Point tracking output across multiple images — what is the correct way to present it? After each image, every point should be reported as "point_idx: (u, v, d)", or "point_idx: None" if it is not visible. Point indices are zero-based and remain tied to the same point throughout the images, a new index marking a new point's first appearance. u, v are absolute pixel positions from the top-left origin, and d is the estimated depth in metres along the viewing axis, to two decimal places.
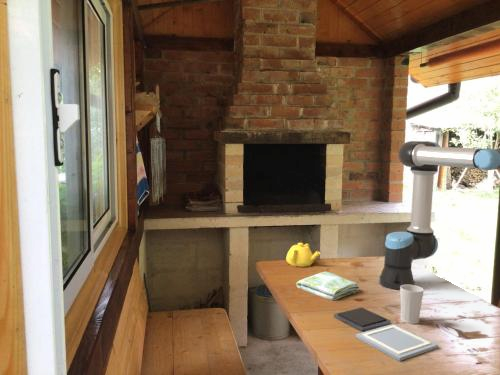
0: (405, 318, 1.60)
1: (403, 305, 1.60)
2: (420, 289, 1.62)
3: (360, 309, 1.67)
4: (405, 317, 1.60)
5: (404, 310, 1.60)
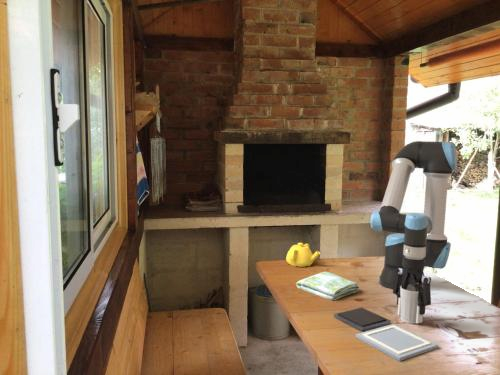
0: (405, 318, 1.60)
1: (403, 305, 1.60)
2: None
3: (360, 309, 1.67)
4: (405, 317, 1.60)
5: (404, 310, 1.60)
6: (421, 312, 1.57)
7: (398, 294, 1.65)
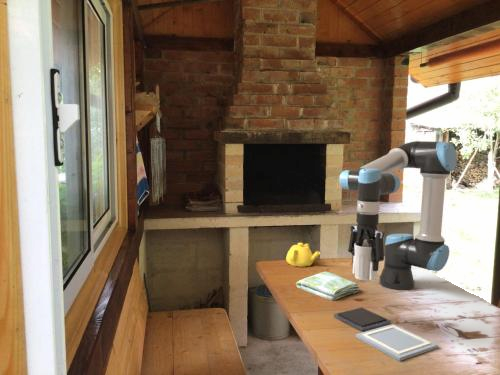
0: (359, 275, 1.57)
1: (357, 262, 1.57)
2: None
3: (360, 309, 1.67)
4: (359, 274, 1.57)
5: (358, 267, 1.57)
6: (374, 268, 1.54)
7: (353, 252, 1.61)
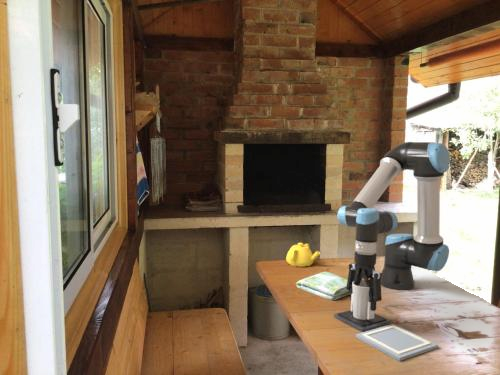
0: (357, 314, 1.58)
1: (355, 301, 1.59)
2: None
3: None
4: (357, 313, 1.58)
5: (356, 306, 1.58)
6: (372, 308, 1.55)
7: (351, 290, 1.63)
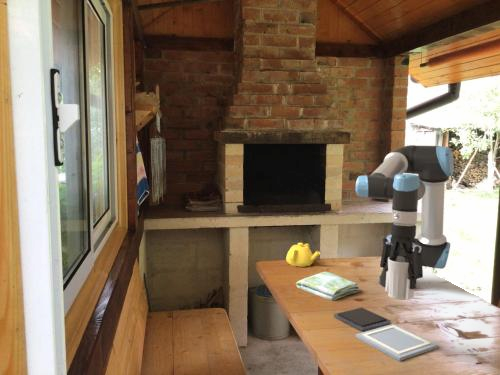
0: (393, 294, 1.40)
1: (391, 279, 1.40)
2: None
3: (360, 309, 1.67)
4: (393, 292, 1.40)
5: (392, 284, 1.40)
6: (412, 286, 1.37)
7: (386, 267, 1.45)
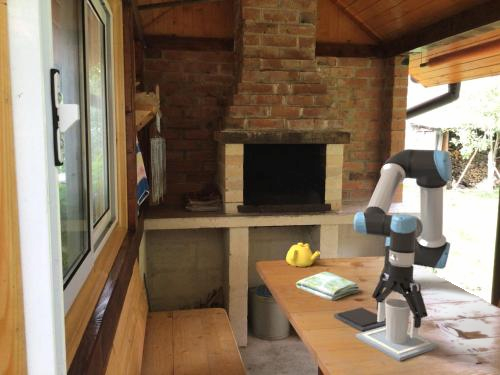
0: (391, 337, 1.42)
1: (388, 323, 1.42)
2: None
3: (360, 309, 1.67)
4: (391, 336, 1.42)
5: (389, 328, 1.42)
6: (416, 325, 1.36)
7: (378, 299, 1.48)
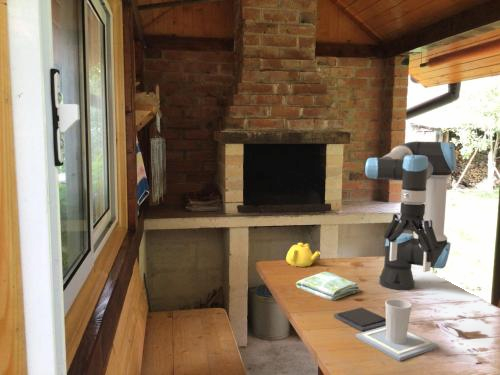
0: (391, 337, 1.42)
1: (388, 323, 1.42)
2: (408, 304, 1.43)
3: (360, 309, 1.67)
4: (391, 336, 1.42)
5: (389, 328, 1.42)
6: (429, 259, 1.41)
7: (390, 238, 1.53)
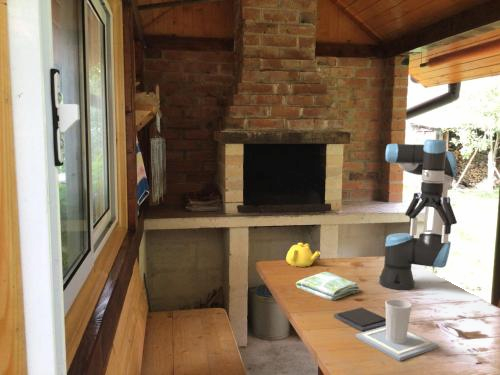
0: (391, 337, 1.42)
1: (388, 323, 1.42)
2: (408, 304, 1.44)
3: (360, 309, 1.67)
4: (391, 336, 1.42)
5: (389, 328, 1.42)
6: (447, 231, 1.59)
7: (411, 215, 1.71)
